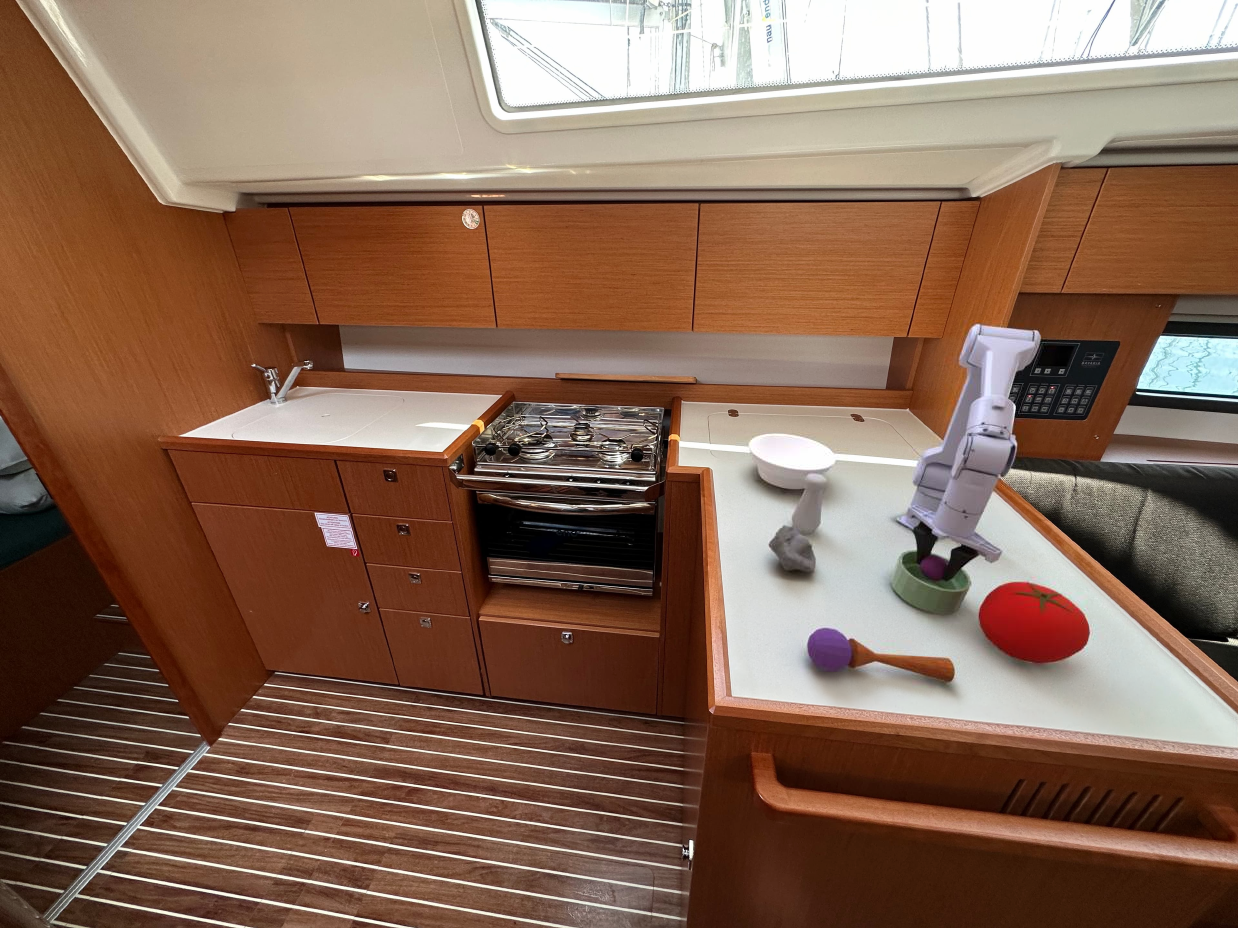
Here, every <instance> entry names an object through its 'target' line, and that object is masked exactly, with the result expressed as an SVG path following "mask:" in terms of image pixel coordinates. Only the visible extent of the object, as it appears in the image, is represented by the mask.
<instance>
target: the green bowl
mask: <svg viewBox="0 0 1238 928" xmlns="http://www.w3.org/2000/svg"><path fill="white" fill-rule="evenodd" d="M931 555H936V556H940V557H942V558H943V559H945V560H946V561H947V562H948V563H949V560H950V558H947V557H945V556H942V555H940V554H938V553H935V552H931V554H930V556H931ZM916 559H917V549H911V550H906V551H904V552H901V554H900V555H899V556H898V559H897V560H896V563H895V566H894V569H893V571H892V574H891V576H890V585H891V587H892V589H893V591H894V592H895V593H896V594H897V595H898V596H899V597H900V598H901V599H903V600H904V601H905V602H907V603H908V604H910V605H912V606H914V607H916V608H918V609H920V610H923V611H926V612H928V613H929V612H930V613H932V614H933V613H934V614H940V615H946V614H953V613H955V612H958V611H959V610H960V608H961V606H962V604H963V602H964V601H965V597H966V596H967V593H968V592H969V590H970V587H971V586H972V579H971V576H970V575H969V573H968V572H967V570H965V569H964V567H962V568H961V569H960V570H959V571H958V573H957V574H956V575H955V576H954V578H953V579H951V580H949V581H947V582H946V581H944V580H941V581H933V580H930V579H928V578H926V577H925V576H924V575H923V574H922V573H921V570H920V565H918V564H917V563H916Z"/></svg>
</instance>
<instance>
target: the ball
mask: <svg viewBox="0 0 1238 928" xmlns="http://www.w3.org/2000/svg"><path fill="white" fill-rule="evenodd" d="M940 556H941V555H940ZM940 556H936V555H931V556H927V557H925V558H924V559H923V560H922V561H921V563H920V570H921V573H922V574H923V575H924V576H925V577H926V578H928V579H930V580H933V581H941V580H942V577H943V574H944V572H945V570H946V568H947V566H948V562H947V561H946V560H945V559H943V558H942V557H940Z"/></svg>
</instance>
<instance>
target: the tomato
mask: <svg viewBox="0 0 1238 928" xmlns="http://www.w3.org/2000/svg"><path fill="white" fill-rule="evenodd" d="M978 621H979V622H978V623H979V627H980V629H981V631H982V634H983V635H984V637H985V638H986V639H987V640H988V642H990V644H992V645H993V646H994V647H996V648H997V649H998V650H999V651H1000V652H1002V653H1004V654H1005V655H1006V656H1009V657H1011V658H1014V659H1016V660H1019V661H1022V662H1026V663H1031V664H1036V665H1037V664H1039V665H1041V664H1043V665H1044V664H1048V663H1049V664H1051V663H1057V662H1060V661H1064V660H1066V659H1068V658H1070V657H1073V656H1074V655H1075V654H1078V653H1080V652H1081V651H1082V650H1083V649H1084V648H1085V647H1086V646H1087V644H1088V642H1089V638H1090V634H1091V631H1090V624H1089V621H1088V619H1087V617H1086V615H1085V613H1084V612H1083V611H1082V610H1081V608H1079V607H1078V606H1077V605H1076V604H1075V603H1073V601H1071V600H1070V599H1069V598H1067V597H1066V596H1064V595H1063V593H1061V592H1058V591H1056V590H1054V589H1051V588H1049V587H1046V586H1044V585H1040V584H1037V583H1033V582H1030V581H1009V582H1006V583H1003V584H1001V585H1000V584H999V585H998V586H996V587H994V589H992V590H991V591H990V592H989V593H988V594H987V595H986V596H985V598H984V599H983V601H982V603H981V604H980V606H979V610H978Z"/></svg>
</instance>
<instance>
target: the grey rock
mask: <svg viewBox="0 0 1238 928" xmlns="http://www.w3.org/2000/svg"><path fill="white" fill-rule="evenodd" d="M768 547H769V548H770V550H771V551H772V552H773V553H774V554H775V556H776V557H777V558H778V559H779V562H780V563H781V566H782V567H783V569H784V570H785V571H795V570H798V571H802V572H807V573H814V572H815V569H816V561H817V558H816V556H815V553H814V550H813V544H811V542H810V540H809V538H808V537H807V536H805V535H804V534H802V533H800V532H799V531H797V530H796V529H795V528H794V527H793V526H789V525H785V524H783V525H782V526H781V527H780V528H779V529H778V530H777V531H776V532H775V535H774V536H773V538H772V539H771V540H770V541H769V543H768Z"/></svg>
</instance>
